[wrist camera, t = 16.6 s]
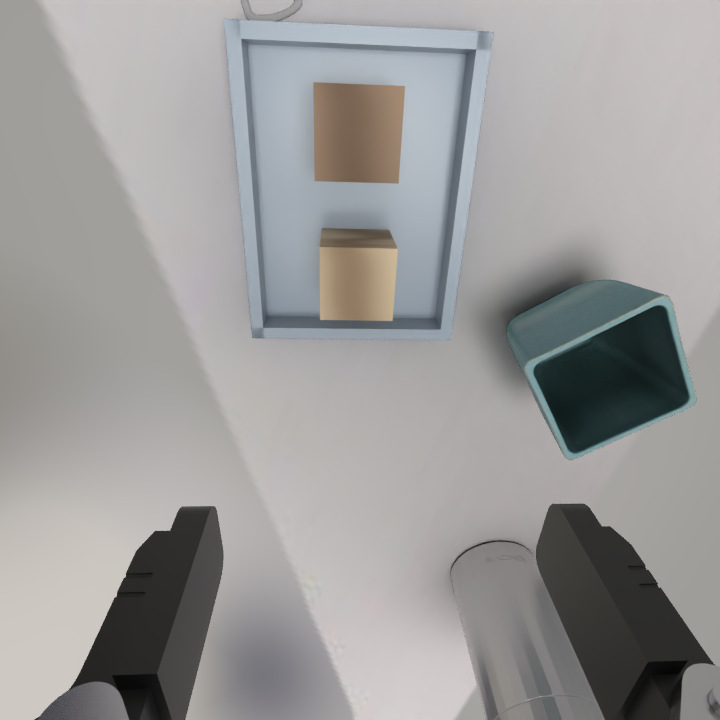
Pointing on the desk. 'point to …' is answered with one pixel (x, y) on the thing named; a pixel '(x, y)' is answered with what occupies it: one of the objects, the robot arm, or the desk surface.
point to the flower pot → (602, 362)
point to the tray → (353, 199)
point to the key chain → (271, 17)
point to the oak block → (357, 274)
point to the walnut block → (357, 132)
